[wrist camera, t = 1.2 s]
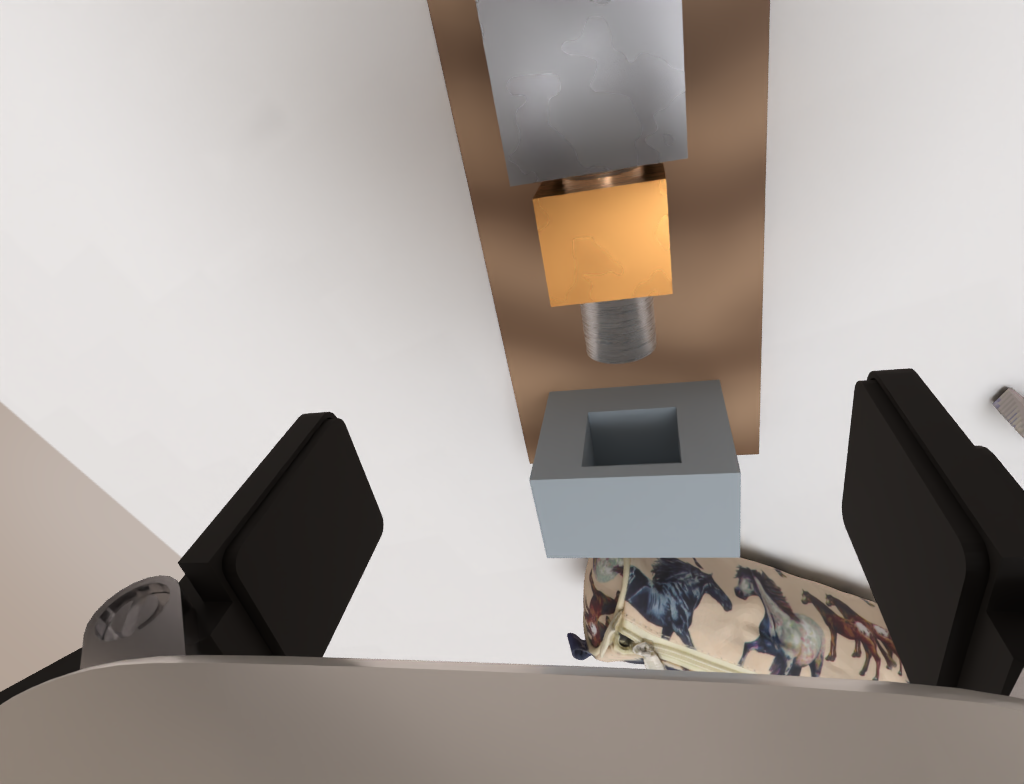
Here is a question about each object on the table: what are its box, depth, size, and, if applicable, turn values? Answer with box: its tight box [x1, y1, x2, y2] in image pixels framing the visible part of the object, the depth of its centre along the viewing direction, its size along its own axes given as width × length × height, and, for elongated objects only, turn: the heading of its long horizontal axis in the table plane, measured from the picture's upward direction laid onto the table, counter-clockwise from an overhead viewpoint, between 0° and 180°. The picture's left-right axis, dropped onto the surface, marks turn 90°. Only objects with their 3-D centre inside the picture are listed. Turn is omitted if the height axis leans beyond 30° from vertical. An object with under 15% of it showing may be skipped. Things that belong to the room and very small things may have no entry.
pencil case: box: [567, 558, 910, 683], centre depth 37 cm, size 22×8×10 cm, turn 73°
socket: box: [530, 380, 741, 558], centre depth 30 cm, size 5×9×8 cm, turn 101°
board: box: [427, 0, 770, 464], centre depth 28 cm, size 30×13×2 cm, turn 11°
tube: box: [533, 162, 673, 364], centre depth 21 cm, size 18×4×6 cm, turn 11°
